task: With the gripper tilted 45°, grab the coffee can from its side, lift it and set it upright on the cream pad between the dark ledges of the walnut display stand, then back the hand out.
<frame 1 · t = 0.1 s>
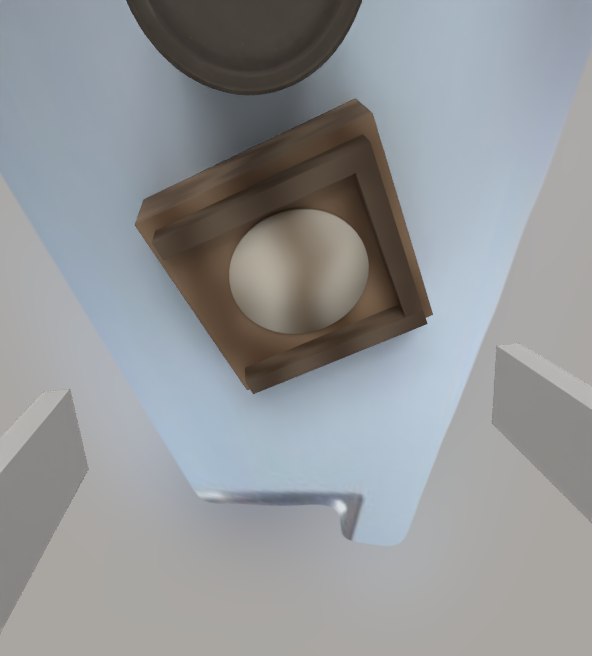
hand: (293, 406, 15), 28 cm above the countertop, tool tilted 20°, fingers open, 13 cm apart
display stand: (291, 246, 42), on the countertop
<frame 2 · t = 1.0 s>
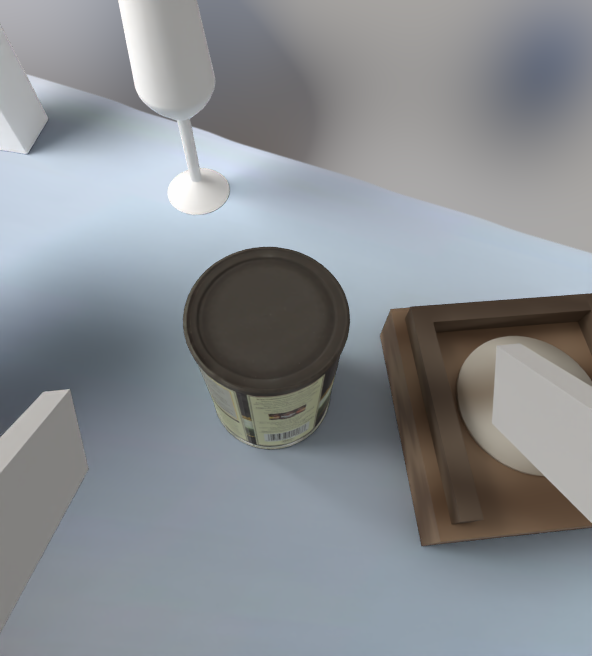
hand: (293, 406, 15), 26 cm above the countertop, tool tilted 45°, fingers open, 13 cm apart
milk: (15, 134, 56), on the countertop
display stand: (501, 421, 42), on the countertop
coffee can: (271, 391, 43), on the countertop
champagne flute: (199, 192, 53), on the countertop
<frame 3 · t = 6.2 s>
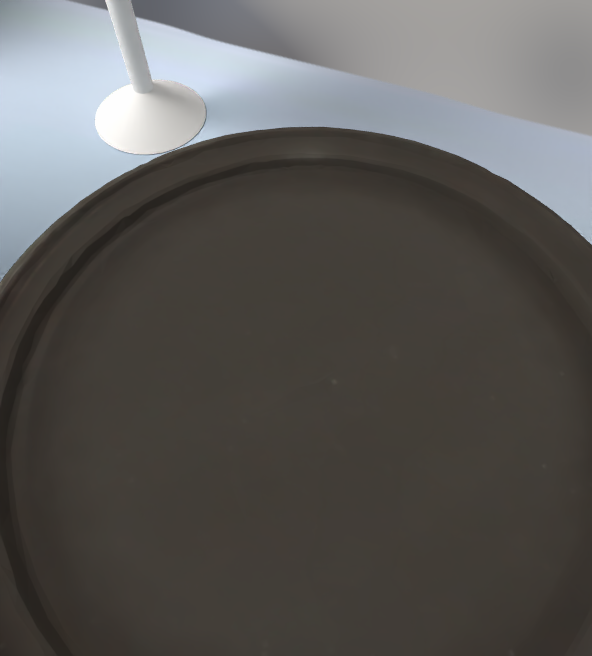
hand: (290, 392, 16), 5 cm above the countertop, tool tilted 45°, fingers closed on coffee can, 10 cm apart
coffee can: (297, 511, 19), on the countertop, touching gripper
champagne flute: (151, 117, 30), on the countertop
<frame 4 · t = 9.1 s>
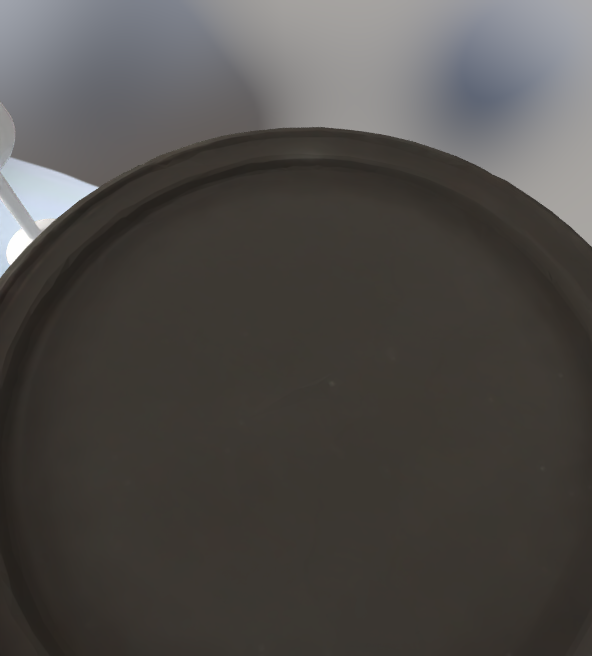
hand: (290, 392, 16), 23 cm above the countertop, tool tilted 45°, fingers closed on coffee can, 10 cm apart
coffee can: (296, 512, 19), point 17 cm above the countertop, touching gripper
champagne flute: (44, 248, 46), on the countertop
when the fingers open (12 cm above the countertop, at t = 12.1 s): coffee can drops 2 cm, resting on display stand.
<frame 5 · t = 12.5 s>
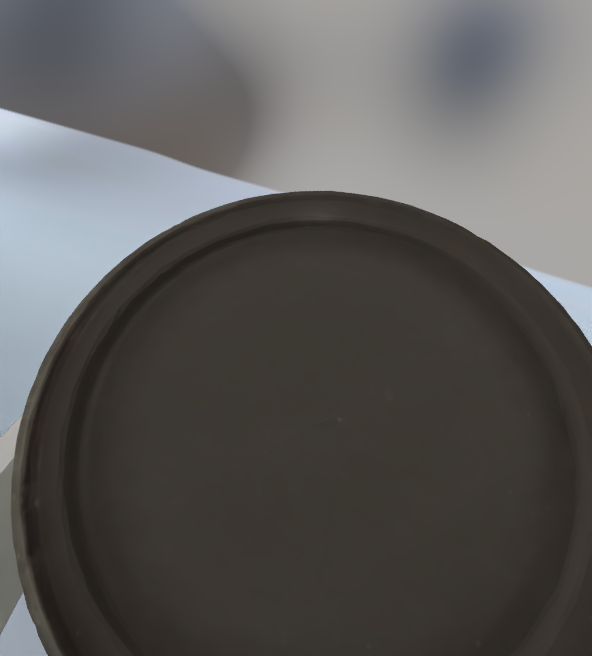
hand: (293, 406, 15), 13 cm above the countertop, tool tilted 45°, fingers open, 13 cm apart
coffee can: (300, 517, 21), point 5 cm above the countertop, touching display stand
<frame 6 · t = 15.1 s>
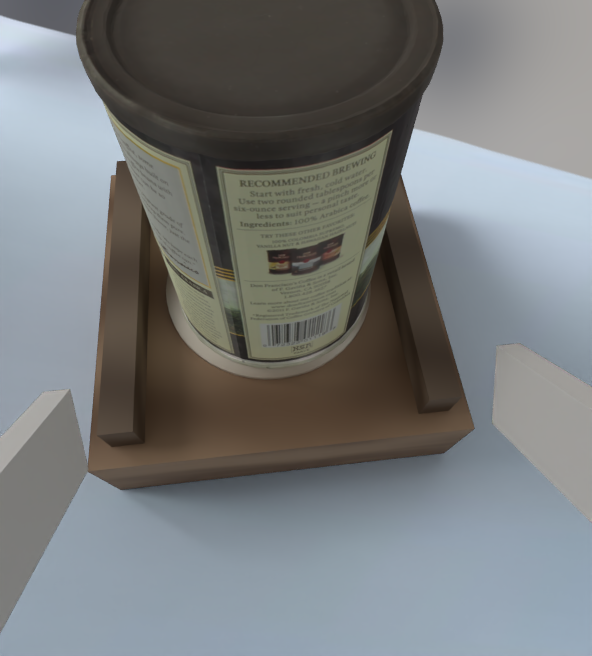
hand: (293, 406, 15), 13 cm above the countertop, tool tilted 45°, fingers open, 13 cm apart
display stand: (271, 327, 31), on the countertop
coffee can: (272, 284, 26), point 5 cm above the countertop, touching display stand
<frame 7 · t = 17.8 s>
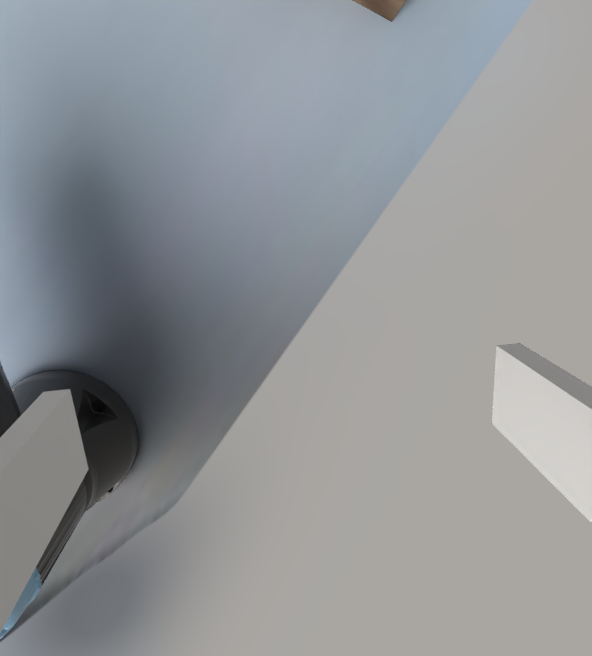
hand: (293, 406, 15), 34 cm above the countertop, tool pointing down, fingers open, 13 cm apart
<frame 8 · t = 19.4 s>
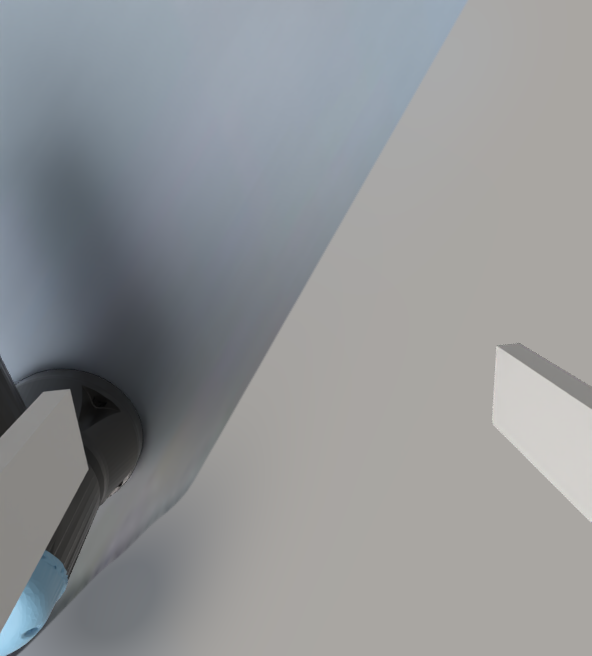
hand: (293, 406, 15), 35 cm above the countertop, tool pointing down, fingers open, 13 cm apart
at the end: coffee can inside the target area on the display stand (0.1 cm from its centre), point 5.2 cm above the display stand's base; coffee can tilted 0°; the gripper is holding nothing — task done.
